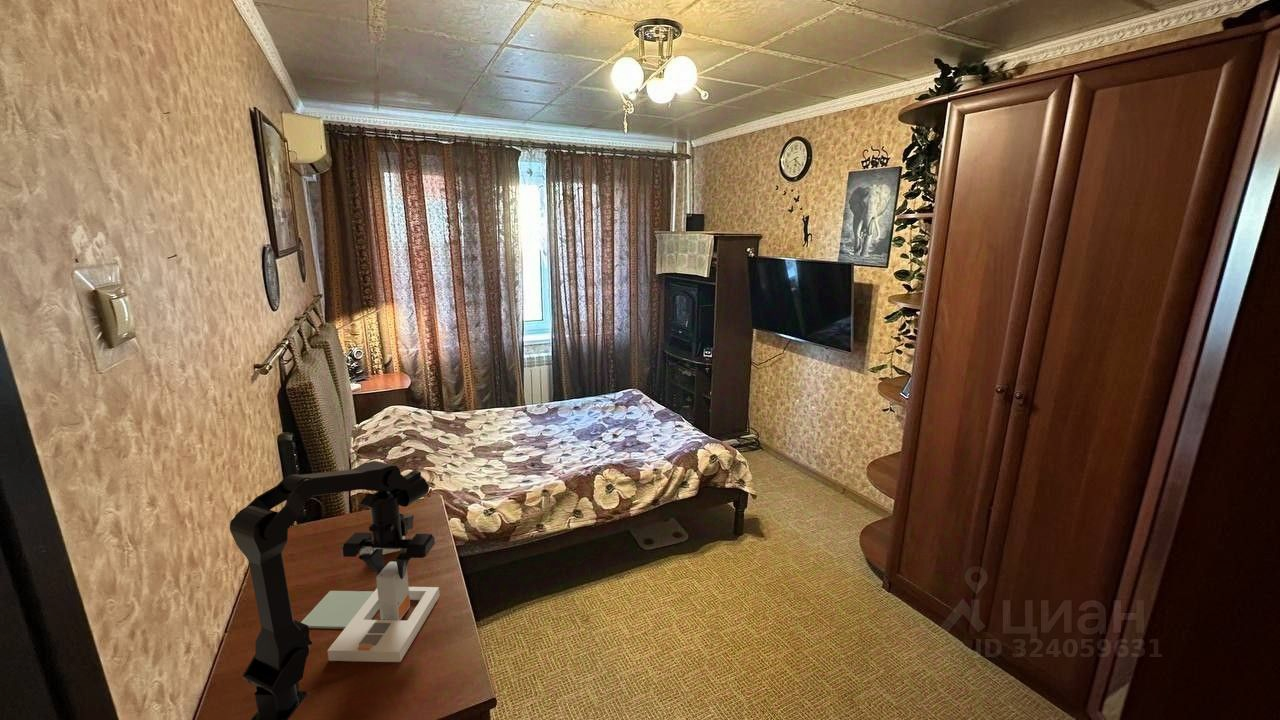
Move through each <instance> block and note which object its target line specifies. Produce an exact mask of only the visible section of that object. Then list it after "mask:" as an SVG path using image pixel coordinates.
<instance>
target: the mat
mask: <svg viewBox="0 0 1280 720" xmlns="http://www.w3.org/2000/svg"><path fill="white" fill-rule="evenodd" d="M374 591H375V590H374ZM374 591H373V590H372V591H371V590H369V591H367V590H366V591H362V590H361V591H360V590H329V591H328V593H327V594H326V595H324V597H323V598H322V599H321V600H320V601H319V602H318V603H317V604H316V605H315V606H314V608H313V609H311V611H310V612H309V613H308V614H307V615H306V616H305V618H303V620H301V621H300V622H301V623H303V624H306V625H308V627H309V629H336V630H338V629H339V630H344V629H345V628H346V626H347V625H348V624H349V623H350V621H351V620H352V619H353V617H354V616H355V615H356V614H357V612H358V611H359V610H360V609H361V607H362V606H363V605H364V604H365V602H366V601H367V600H368V599H369V597H370V596H371V595H372V593H373V592H374Z"/></svg>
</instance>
